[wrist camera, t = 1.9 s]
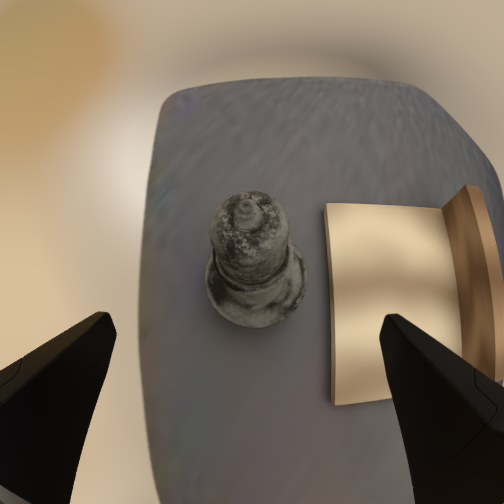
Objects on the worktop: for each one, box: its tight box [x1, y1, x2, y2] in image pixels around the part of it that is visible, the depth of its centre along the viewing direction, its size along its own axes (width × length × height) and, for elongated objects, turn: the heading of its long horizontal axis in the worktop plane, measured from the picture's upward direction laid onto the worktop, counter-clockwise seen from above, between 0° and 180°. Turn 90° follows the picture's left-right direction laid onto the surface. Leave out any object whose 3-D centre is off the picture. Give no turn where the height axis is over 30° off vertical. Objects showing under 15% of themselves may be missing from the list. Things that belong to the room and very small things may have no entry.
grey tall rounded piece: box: [205, 191, 307, 328], centre depth 14 cm, size 6×6×12 cm
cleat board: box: [323, 185, 504, 405], centre depth 16 cm, size 14×12×5 cm
